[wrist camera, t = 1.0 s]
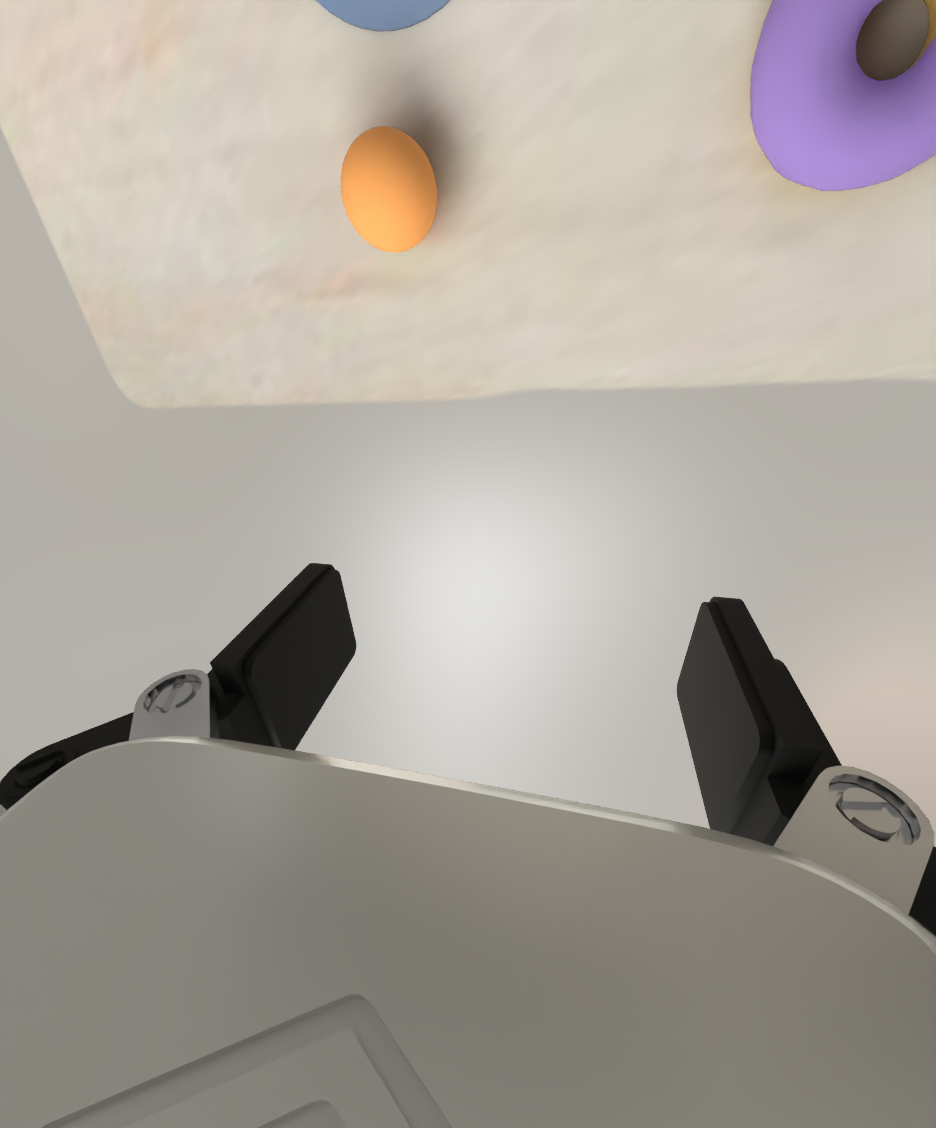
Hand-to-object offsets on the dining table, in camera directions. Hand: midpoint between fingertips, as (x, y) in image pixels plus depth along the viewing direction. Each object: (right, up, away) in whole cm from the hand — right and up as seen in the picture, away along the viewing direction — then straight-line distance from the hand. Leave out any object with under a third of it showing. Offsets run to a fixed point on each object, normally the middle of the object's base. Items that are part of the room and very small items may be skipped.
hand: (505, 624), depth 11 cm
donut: (+16, +24, +7) cm, 30 cm away
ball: (-5, +21, +11) cm, 25 cm away
